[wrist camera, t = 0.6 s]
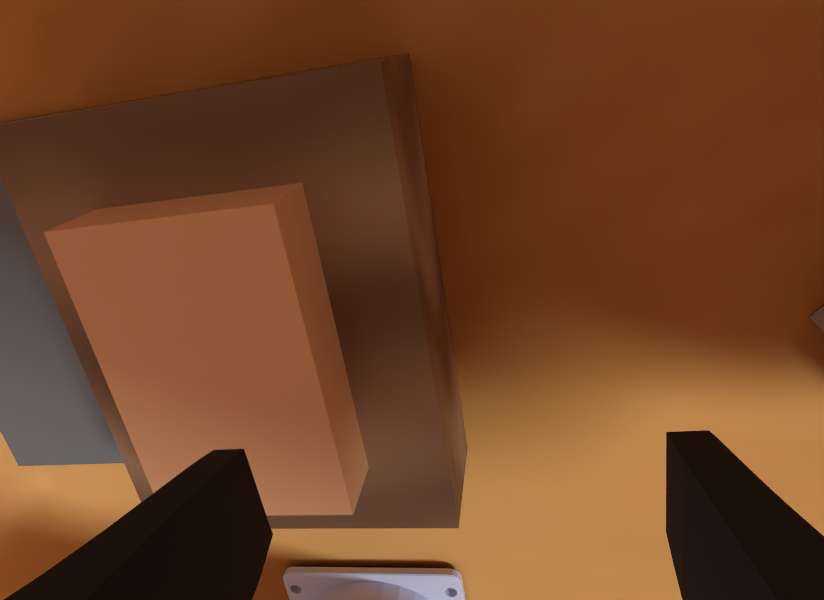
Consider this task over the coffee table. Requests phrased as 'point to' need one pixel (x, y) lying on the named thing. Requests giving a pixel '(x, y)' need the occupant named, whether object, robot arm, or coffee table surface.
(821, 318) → the tall white column
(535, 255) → the coffee table surface
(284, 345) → the tan rectangular brick
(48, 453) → the mat
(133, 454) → the brown flat block
